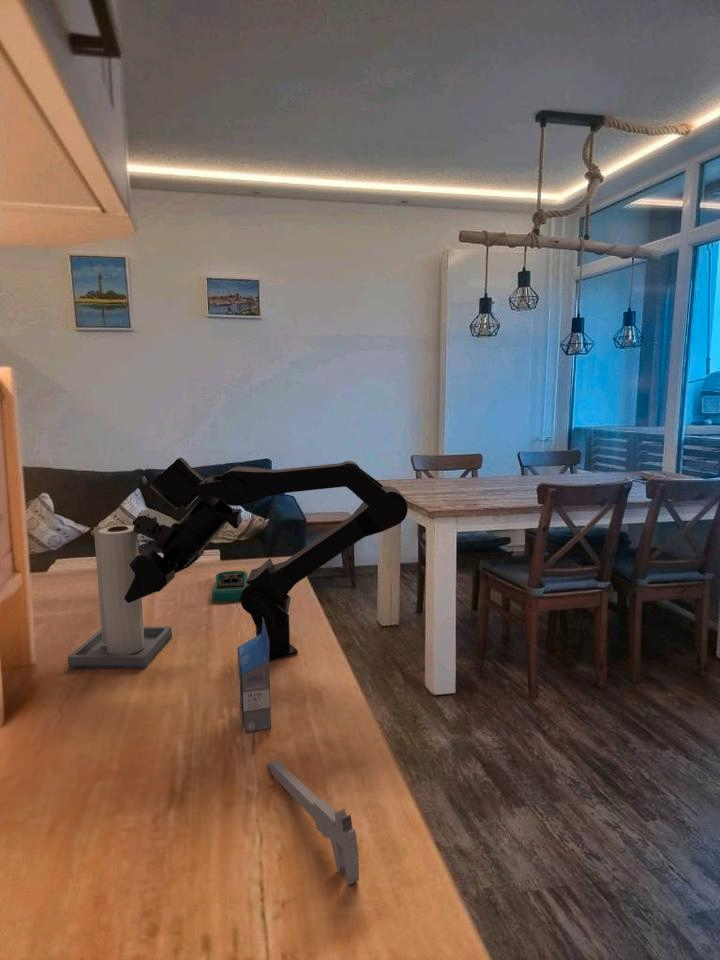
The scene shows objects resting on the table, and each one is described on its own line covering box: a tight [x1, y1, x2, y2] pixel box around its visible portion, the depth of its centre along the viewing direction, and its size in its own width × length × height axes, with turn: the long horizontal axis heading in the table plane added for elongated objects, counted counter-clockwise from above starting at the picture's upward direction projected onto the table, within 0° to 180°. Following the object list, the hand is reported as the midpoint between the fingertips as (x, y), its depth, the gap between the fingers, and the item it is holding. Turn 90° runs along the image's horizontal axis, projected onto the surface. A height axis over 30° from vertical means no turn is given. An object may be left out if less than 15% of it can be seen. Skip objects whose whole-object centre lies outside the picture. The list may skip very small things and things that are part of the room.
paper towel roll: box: [93, 525, 145, 655], centre depth 99 cm, size 7×6×21 cm
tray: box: [67, 625, 173, 670], centre depth 101 cm, size 13×13×2 cm
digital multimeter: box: [211, 570, 248, 603], centre depth 132 cm, size 7×15×3 cm, turn 11°
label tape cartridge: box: [237, 617, 272, 734], centre depth 80 cm, size 9×4×12 cm, turn 15°
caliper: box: [266, 759, 360, 886], centre depth 61 cm, size 20×1×6 cm, turn 30°
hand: (138, 591), depth 99 cm, fingers open, 9 cm apart
